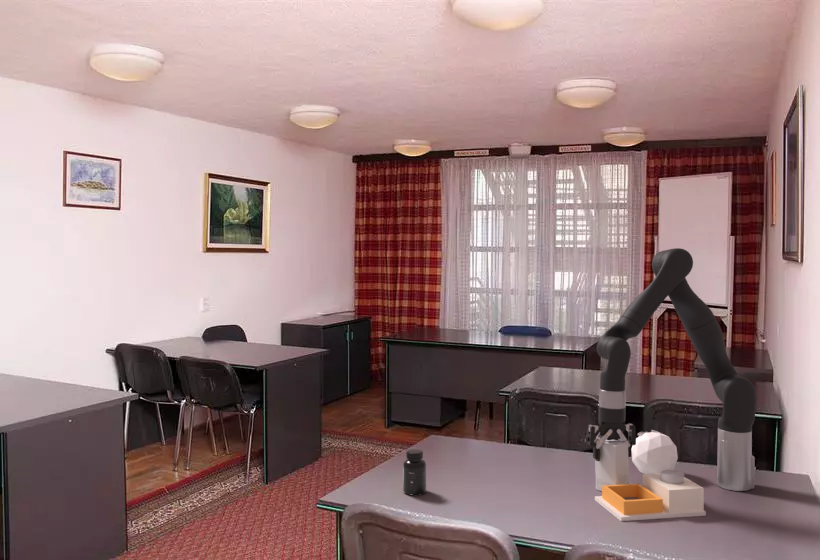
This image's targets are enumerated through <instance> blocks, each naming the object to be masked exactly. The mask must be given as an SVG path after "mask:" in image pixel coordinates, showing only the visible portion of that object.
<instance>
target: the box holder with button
mask: <svg viewBox="0 0 820 560" xmlns="http://www.w3.org/2000/svg"><path fill="white" fill-rule="evenodd" d="M594 501H595V502H596V503H598V504H599V505H601V506H602V507H603V508H604V509H605V510H607V511H608V512H609V513H610V514H612V515H613V516H614V517H615V518H617V519H618V520H619V522H628V521H629V522H631V521H645V520H657V519H660V520H661V519H674V518H687V517H701V516H703V517H704V516H707V512H706V510H705V509H704V507H705V506H704V505H705V489H704V487H702V486H701V485H699V484H697V483H695V482H694V481H692V480H691V479H688V478H687V477H685V474H684V473H683V472H682V471H678V470H665V471H662V472H661V473H650V474H644V473H642V484H640V483H629V484H621V485H604V486H602V491H601V495H597V496H596V495H595V496H594Z"/></svg>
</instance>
